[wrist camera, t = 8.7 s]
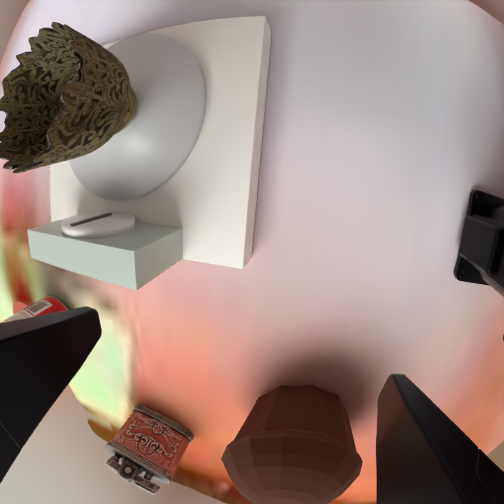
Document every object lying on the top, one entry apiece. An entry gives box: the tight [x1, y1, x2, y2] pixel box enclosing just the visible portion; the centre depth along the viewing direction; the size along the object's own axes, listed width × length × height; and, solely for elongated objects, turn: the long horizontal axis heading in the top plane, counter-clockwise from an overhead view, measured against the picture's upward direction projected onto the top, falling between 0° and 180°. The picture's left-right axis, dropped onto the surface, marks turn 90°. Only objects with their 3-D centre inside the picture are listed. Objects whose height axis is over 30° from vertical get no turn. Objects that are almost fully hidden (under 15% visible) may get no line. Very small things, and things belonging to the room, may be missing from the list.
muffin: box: [221, 385, 363, 504], centre depth 18 cm, size 12×11×10 cm
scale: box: [28, 16, 272, 290], centre depth 15 cm, size 18×16×8 cm
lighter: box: [105, 405, 194, 495], centre depth 23 cm, size 8×3×10 cm, turn 69°
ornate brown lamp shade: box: [0, 22, 137, 173], centre depth 11 cm, size 8×7×8 cm
